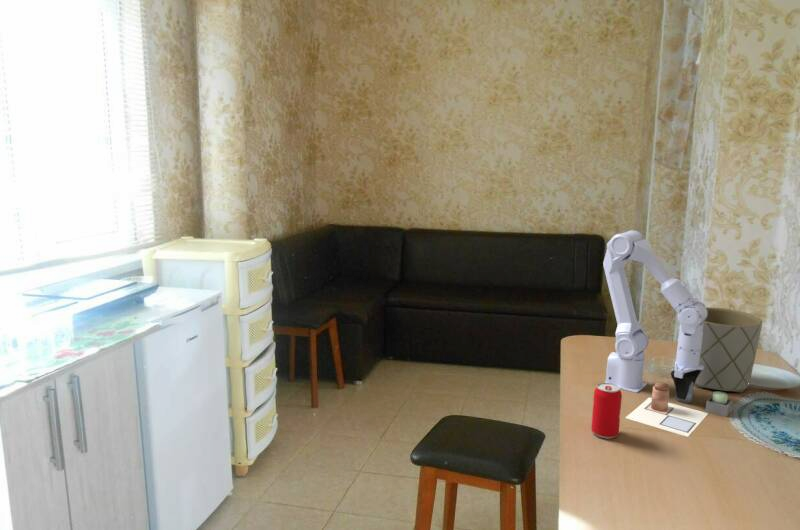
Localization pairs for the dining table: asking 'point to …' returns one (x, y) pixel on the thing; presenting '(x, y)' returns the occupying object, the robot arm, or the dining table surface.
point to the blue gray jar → (689, 395)
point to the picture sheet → (668, 417)
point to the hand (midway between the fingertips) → (683, 395)
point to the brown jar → (660, 397)
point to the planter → (728, 349)
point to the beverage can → (606, 410)
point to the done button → (720, 398)
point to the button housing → (718, 407)
